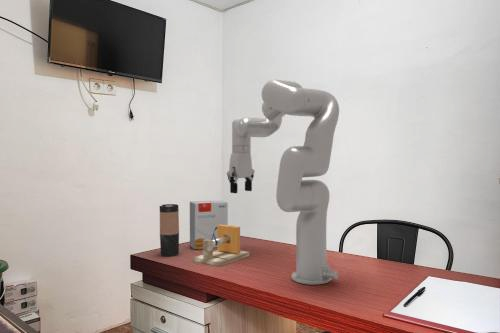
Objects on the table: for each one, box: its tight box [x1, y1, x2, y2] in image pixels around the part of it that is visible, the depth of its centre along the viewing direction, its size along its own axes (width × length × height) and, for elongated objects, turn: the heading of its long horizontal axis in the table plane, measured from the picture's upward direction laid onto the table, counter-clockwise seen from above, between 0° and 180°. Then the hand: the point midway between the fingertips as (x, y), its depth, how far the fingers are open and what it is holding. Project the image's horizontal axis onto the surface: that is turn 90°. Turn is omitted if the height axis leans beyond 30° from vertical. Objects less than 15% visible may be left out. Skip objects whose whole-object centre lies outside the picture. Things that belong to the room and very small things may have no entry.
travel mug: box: [159, 203, 180, 257], centre depth 157 cm, size 8×8×20 cm
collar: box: [217, 224, 241, 253], centre depth 153 cm, size 10×2×10 cm, turn 54°
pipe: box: [213, 235, 230, 246], centre depth 150 cm, size 3×17×3 cm, turn 144°
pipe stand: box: [193, 239, 251, 267], centre depth 150 cm, size 13×18×8 cm
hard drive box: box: [189, 199, 229, 250], centre depth 170 cm, size 16×8×20 cm, turn 113°
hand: (241, 191), depth 158 cm, fingers open, 9 cm apart
